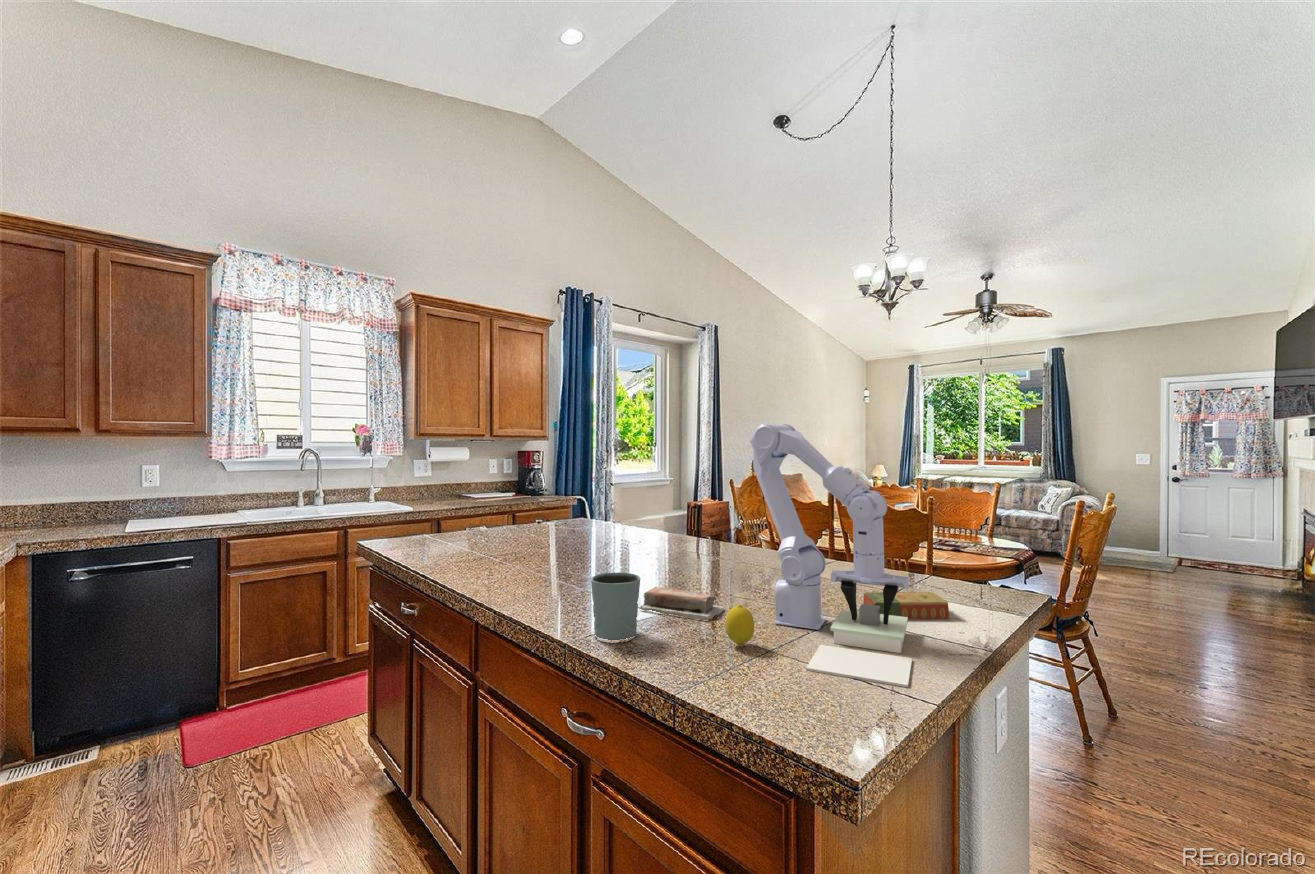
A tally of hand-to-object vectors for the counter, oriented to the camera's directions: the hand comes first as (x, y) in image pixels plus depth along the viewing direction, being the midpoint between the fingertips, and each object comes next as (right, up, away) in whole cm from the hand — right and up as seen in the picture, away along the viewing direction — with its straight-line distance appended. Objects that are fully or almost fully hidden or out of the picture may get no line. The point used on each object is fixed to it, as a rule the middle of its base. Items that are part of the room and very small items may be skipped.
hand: (870, 620), depth 110 cm
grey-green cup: (-51, -5, +4) cm, 51 cm away
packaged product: (-37, -5, +20) cm, 42 cm away
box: (0, -3, 0) cm, 3 cm away
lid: (0, -2, 0) cm, 2 cm away
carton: (+14, -4, +15) cm, 21 cm away
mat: (-7, -3, -13) cm, 15 cm away
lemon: (-26, -4, -3) cm, 27 cm away
